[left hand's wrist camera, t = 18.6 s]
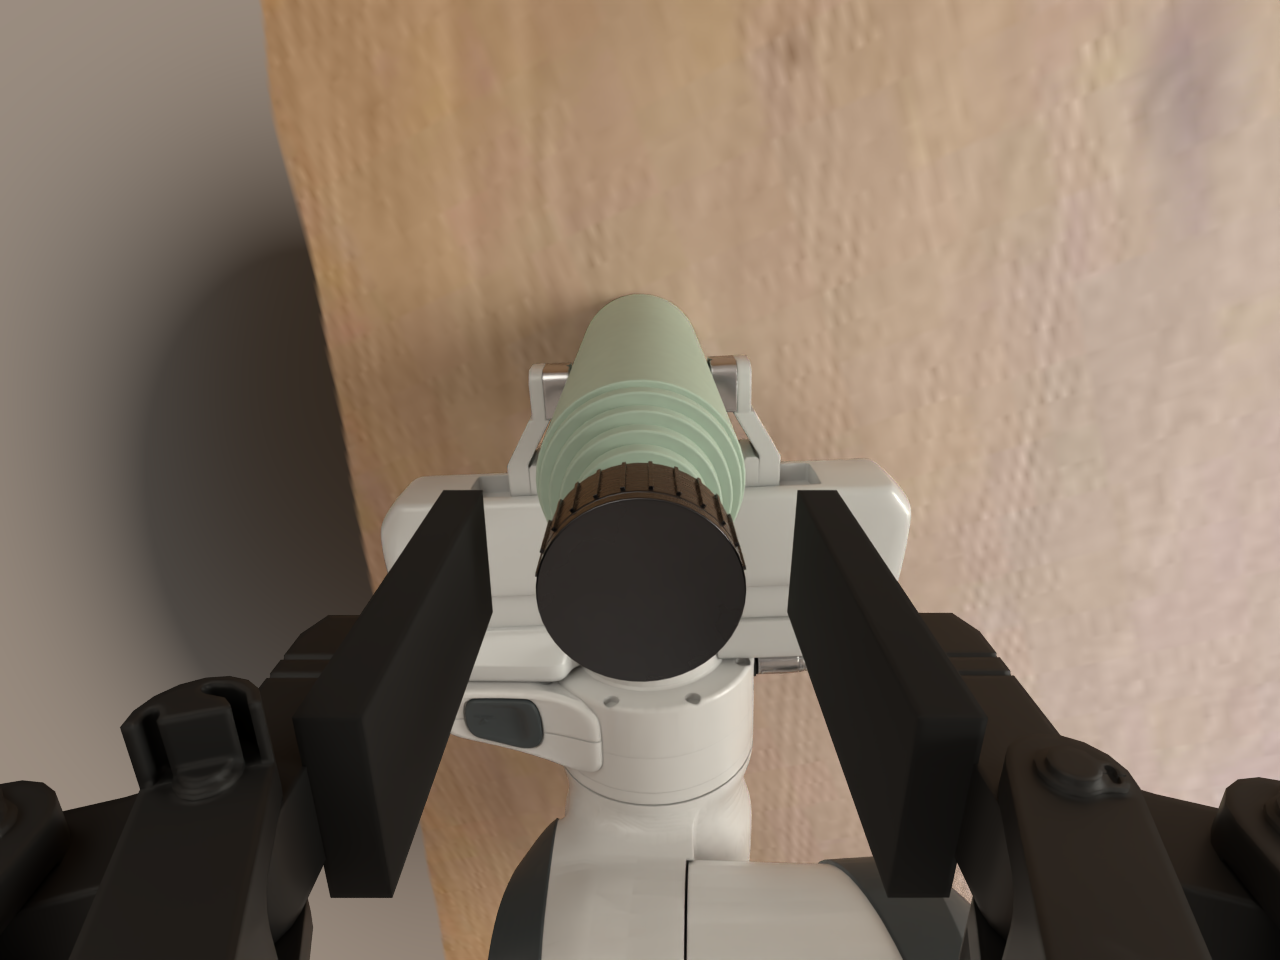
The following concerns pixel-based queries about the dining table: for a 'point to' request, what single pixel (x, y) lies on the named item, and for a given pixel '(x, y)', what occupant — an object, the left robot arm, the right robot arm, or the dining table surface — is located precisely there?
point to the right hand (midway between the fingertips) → (638, 361)
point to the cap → (640, 573)
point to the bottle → (640, 406)
